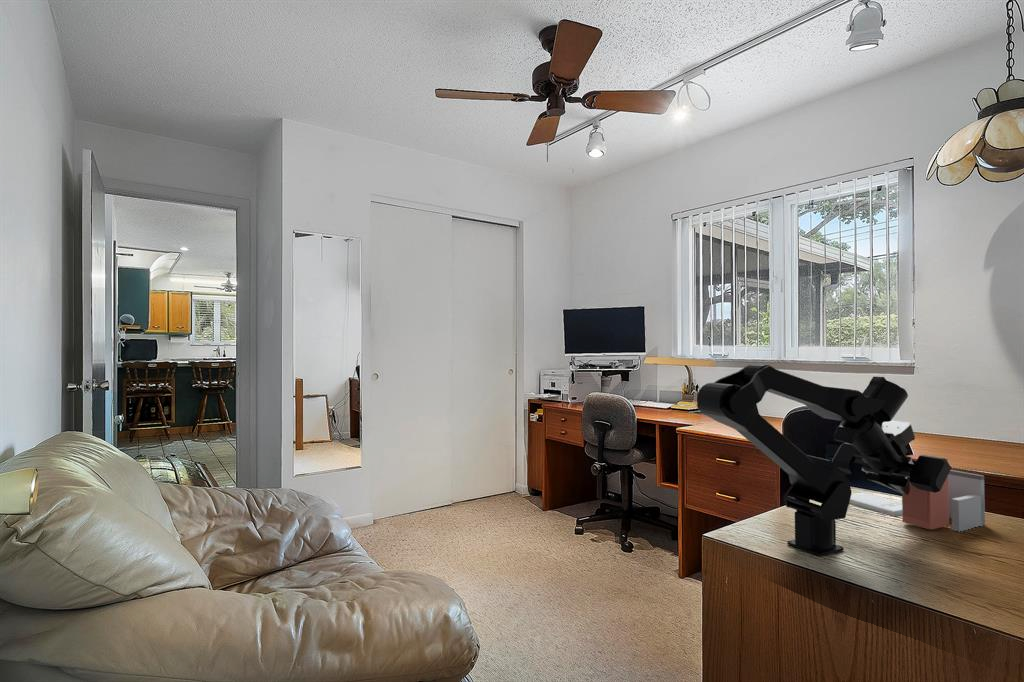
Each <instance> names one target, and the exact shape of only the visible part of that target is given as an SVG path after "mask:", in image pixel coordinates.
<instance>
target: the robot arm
mask: <svg viewBox="0 0 1024 682" xmlns="http://www.w3.org/2000/svg"><path fill="white" fill-rule="evenodd" d="M766 393H770V394H773V395H776V396H779V397H783V398H786V399H789V400H792V401H794V402H796V403H800V404H803V405H805V406H806V407H808V408H809V410H810V411H811V412H812V413H814V414H816V415H817V416H819V417H821V418H822V419H828V420H835V421H841V422H840V424H839V426H836V429H835V430H836V431H835V432H834V434H833V440H834V441H837V442H841V444H840V446H839V447H838V449H837V451H836V452H835V454H834V456H833V458H832V460H830V459H825V458H821V457H816V456H812V455H809V454H806V453H804V452H803V450H801V449H800V448H799V447H797V446H796V445H795V444H794V443H793V442H791V441H790V440H789V438H787V437H786V436H785V435H784V434H783V433H781V431H779V430H778V429H777V428H775V427H774V426H773V425H772V424H771V423H770V422H769V421H767V420H766V419H765V418H764V417H763V416H762V415H761V414H760V413H759V408H758V405H757V404H759V403H760V402H761V401H763V398H764V396H765V394H766ZM908 397H909V394H908V391H906V388H903V387H901V386H900V385H898V384H896V383H894V382H892V381H889V380H887V379H886V378H885V376H875V375H874V376H873V377H872V378H871V379H870V380H869V383H868V385H867V386H866V388H865V389H864V390H863V392H862V391H860V390H857V389H849V388H844V387H843V388H842V387H841V388H840V387H832V386H825V385H822V384H819V383H815V382H812V381H810V380H807V379H804V378H801V377H799V376H796V375H793V374H790V373H787V372H785V371H782V370H779V369H776V368H774V367H773V366H772V365H769V364H748V365H747V366H744V367H743V368H742V369H740V370H738V371H737V372H733V373H731V374H728V375H725V376H724V377H721V378H720V379H717V380H716V381H714V382H708V383H706V384H704V385H702V386H701V387H700V389H699V390H698V393H697V396H696V402H697V403H696V407H697V409H698V410H699V412H701V413H702V414H703V415H705V416H707V417H708V418H710V419H712V420H714V421H716V422H718V423H720V424H722V425H725V426H727V427H729V428H731V429H733V430H735V431H737V432H738V433H739V434H740V435H741V436H743V438H745V439H746V440H747V441H749V442H750V443H751V444H752V445H753V446H754V447H756V449H758V450H759V451H760V452H761V453H762V454H764V455H765V456H766V457H768V459H770V460H771V461H772V462H773V463H775V464H776V465H777V466H778V467H779V468H780V469H782V471H784V472H785V473H786V474H787V475H788V478H789V483H790V486H789V488H788V489H787V491H786V492H785V494H784V495H783V501H784V505H785V507H786V508H789V509H793V510H795V512H794V539H790V540H787V542H786V543H787V545H789V546H791V547H795V548H797V549H800V550H803V551H806V552H808V553H811V554H813V555H816V556H819V557H820V556H821V557H822V556H826V555H830V554H834V553H838V552H842V551H844V550H845V549H844V546H842V545H838V544H836V543H837V537H836V536H837V533H836V532H837V530H836V529H837V527H836V525H837V523H836V522H837V521H836V520H841V519H845V518H846V516H847V513H848V510H849V505H850V503H849V502H850V498H851V494H852V488H851V486H852V484H851V481H850V480H849V478H848V477H846V476H847V475H852V473H853V471H854V470H853V468H852V466H853V464H859V465H862V466H861V471H863V472H865V473H866V474H865V476H864V477H865V479H866V480H868V481H871V482H874V483H876V484H878V485H880V486H883V487H886V488H888V489H891V490H893V491H895V492H897V493H899V494H901V495H902V494H904V495H908V494H909V492H910V484H909V481H910V483H911V485H912V486H914V487H916V488H918V489H920V490H925V491H929V492H934V493H936V492H939V491H940V490H941V488H942V486H943V484H944V482H945V480H946V478H947V476H948V474H949V472H950V470H952V466H951V465H950V463H949V461H948V462H947V460H946V459H945V458H946V457H942V458H940V456H935V457H934V455H929V456H928V454H923V455H920V456H919V457H918V459H917V461H914V460H912V458H911V457H908V456H909V455H906V454H907V453H908V449H907V448H906V447H907V446H908V445H909V444H910V443H911V442H912V441H915V439H916V436H915V433H914V430H913V426H912V424H911V422H910V421H909V422H908V421H902V420H893V419H894V417H895V416H896V414H897V413H898V411H900V409H901V407H902V406H903V404H904V403H906V400H907V399H908ZM811 501H813V502H815V503H813V502H811ZM816 503H819V504H816Z"/></svg>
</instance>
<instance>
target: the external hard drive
mask: <svg viewBox="0 0 1024 682" xmlns="http://www.w3.org/2000/svg"><path fill="white" fill-rule="evenodd" d="M850 504H851V505H854V506H857V507H861V508H864V509H867V510H871V511H876V512H878V513H883V514H886V515H889V516H893V517H895V516H901V515H902V501H901V502H900V501H897V500H894V499H889V498H885V497H882V496H878V495H875V494H870V493H868V492H867V493H866V492H863V491H862V492H858V493H857V492H855V493H851V498H850V502H849V505H850Z"/></svg>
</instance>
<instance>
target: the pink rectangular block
mask: <svg viewBox="0 0 1024 682" xmlns="http://www.w3.org/2000/svg"><path fill="white" fill-rule="evenodd" d="M920 455H924V454H921V453H917V454H910V455H907V456H908V457H911V458H912V460H914V461H917V459H918V457H919V456H920ZM927 455H928V454H927ZM928 456H930V455H928ZM933 456H934V455H933ZM934 457H936V456H934ZM939 457H940V456H939ZM940 458H943V457H942V456H941V457H940ZM944 458H945V459H946V460H947V462H948V463H949V460H948V458H947V457H944ZM909 484H910V492H909V494H908V495H904V494H902V493H901V496H902V497H901V498H902V499H901V503H902V523H904V524H908V525H912V526H915V527H919V528H923V529H927V530H936V529H940V528H944V527H947V526H950V518H949V506H948V476H947V478H946V480H945V482H944V484H943V486H942V488H941V490H940V491H939V492H936V493H934V492H929V491H925V490H920V489H918V488H916V487H914V486H912V485H911V483H910V481H909Z"/></svg>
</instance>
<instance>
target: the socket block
mask: <svg viewBox="0 0 1024 682" xmlns="http://www.w3.org/2000/svg"><path fill="white" fill-rule="evenodd" d="M985 497H986V496H985V475H983V474H977V473H971V472H967V471H960V470H955V469H951V470H950V472H949V474H948V506H949V519H950V518H951V530H952V531H953V530H954V532H957V531H958V533H961V532H965V531H969V530H972V529H971V528H973V529H975V528H974V527H977V528H979V527H978V526H981V525H984V526H985V525H986V515H985V514H986V507H985V505H986V504H985V503H986V501H985ZM981 527H982V526H981ZM968 529H969V530H968ZM964 530H965V531H964ZM960 531H961V532H960Z"/></svg>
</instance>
